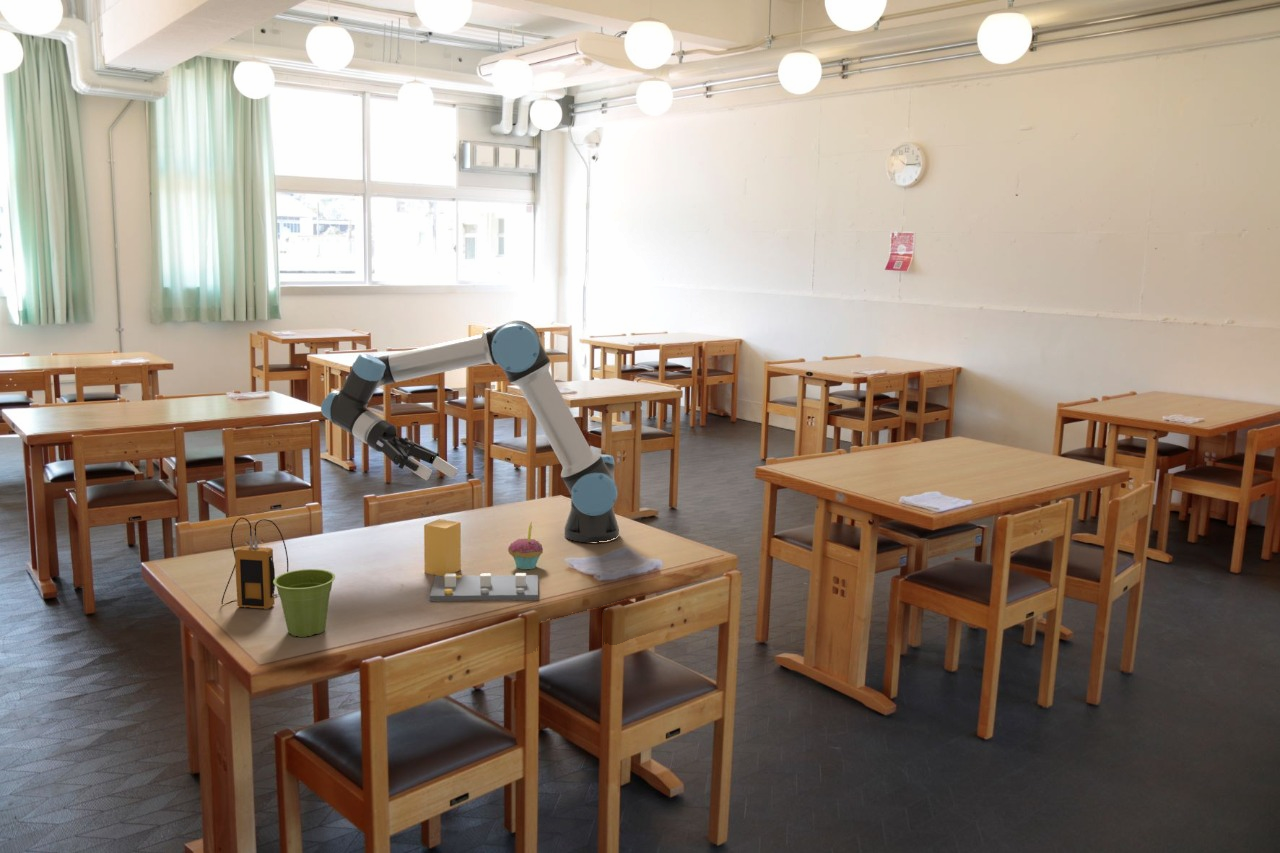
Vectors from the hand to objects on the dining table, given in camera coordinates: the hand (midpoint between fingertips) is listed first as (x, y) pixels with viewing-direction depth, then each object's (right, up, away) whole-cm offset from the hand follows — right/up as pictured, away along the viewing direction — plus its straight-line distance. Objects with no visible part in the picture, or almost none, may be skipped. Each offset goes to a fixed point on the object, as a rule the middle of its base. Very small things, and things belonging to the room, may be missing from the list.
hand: (442, 474), depth 243 cm
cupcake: (+20, -23, +3) cm, 31 cm away
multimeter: (-34, -27, -26) cm, 50 cm away
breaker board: (+13, -26, -15) cm, 32 cm away
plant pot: (-19, -30, -42) cm, 55 cm away
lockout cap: (0, -23, -2) cm, 24 cm away
